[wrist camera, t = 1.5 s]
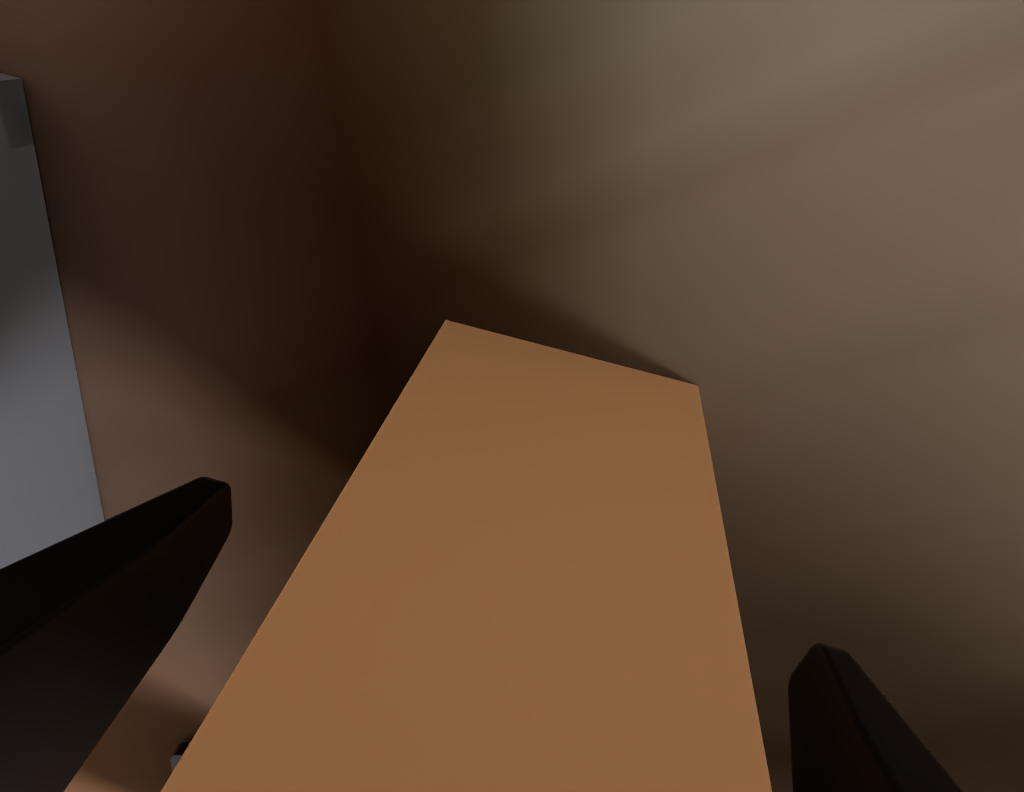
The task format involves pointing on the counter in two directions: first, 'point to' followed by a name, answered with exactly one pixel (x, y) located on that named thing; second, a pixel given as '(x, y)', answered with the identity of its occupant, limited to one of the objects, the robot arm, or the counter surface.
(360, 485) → the plain tan block
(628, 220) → the counter surface
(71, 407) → the block holder
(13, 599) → the robot arm
